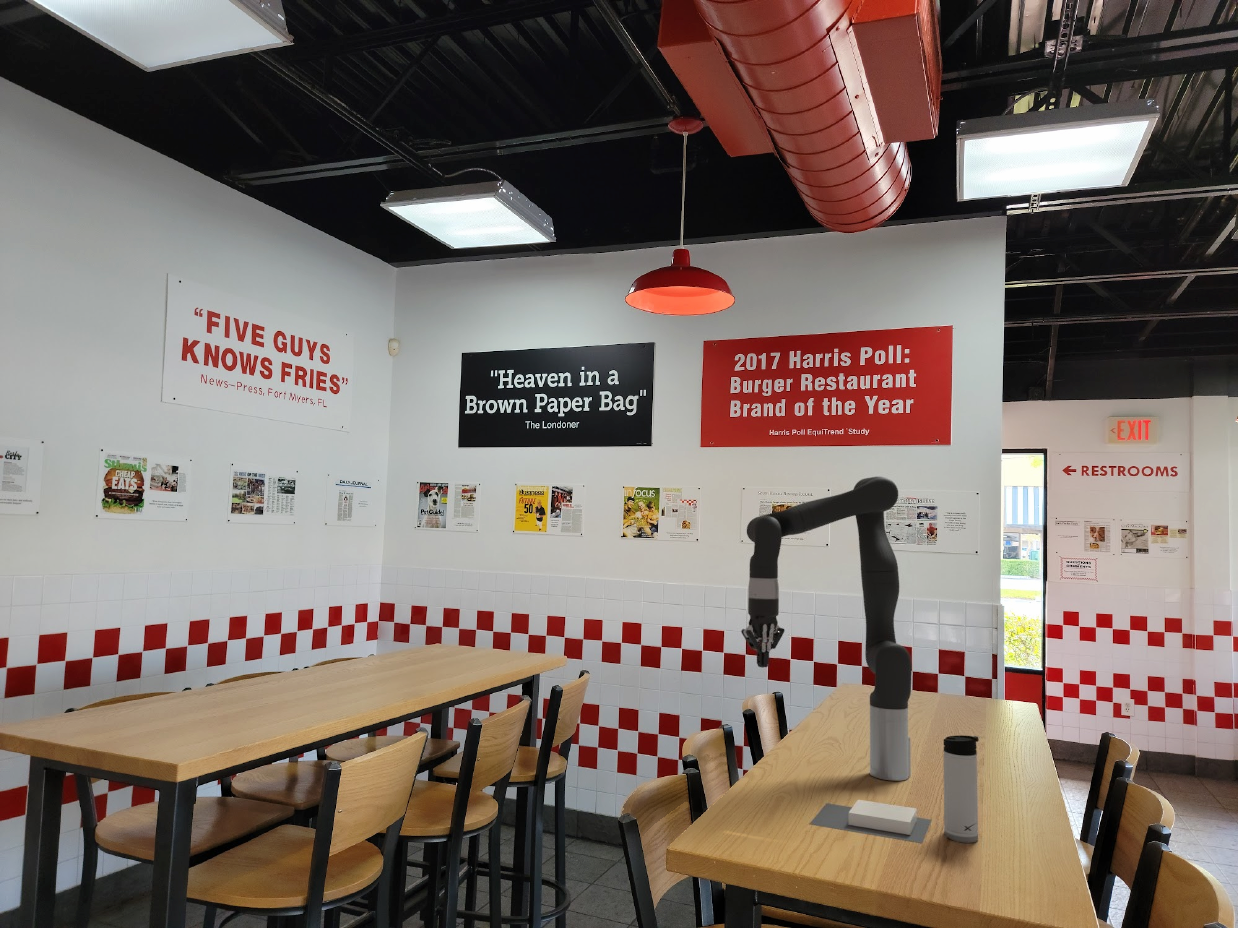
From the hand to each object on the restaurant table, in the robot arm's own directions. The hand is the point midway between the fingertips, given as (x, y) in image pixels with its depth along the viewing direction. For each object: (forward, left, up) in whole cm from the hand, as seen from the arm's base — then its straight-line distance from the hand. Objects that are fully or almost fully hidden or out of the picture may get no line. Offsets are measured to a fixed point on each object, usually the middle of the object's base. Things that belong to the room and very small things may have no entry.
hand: (762, 666), depth 211 cm
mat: (+3, +36, -27) cm, 45 cm away
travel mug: (-6, +51, -27) cm, 58 cm away
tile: (+5, +33, -25) cm, 42 cm away
